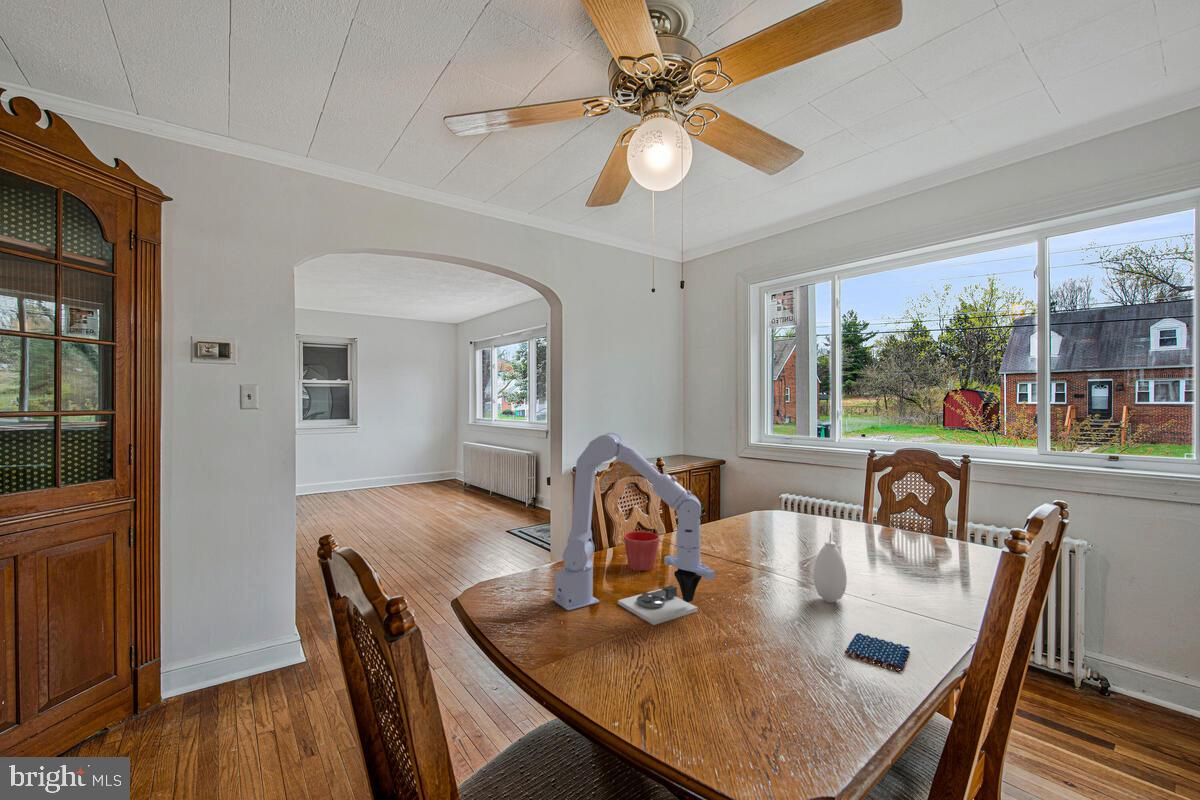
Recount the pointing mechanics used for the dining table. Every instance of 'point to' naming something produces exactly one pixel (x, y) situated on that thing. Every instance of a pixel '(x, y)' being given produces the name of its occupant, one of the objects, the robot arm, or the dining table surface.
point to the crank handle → (656, 597)
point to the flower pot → (641, 549)
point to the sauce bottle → (830, 573)
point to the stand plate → (659, 609)
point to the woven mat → (878, 651)
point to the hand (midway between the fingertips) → (688, 600)
